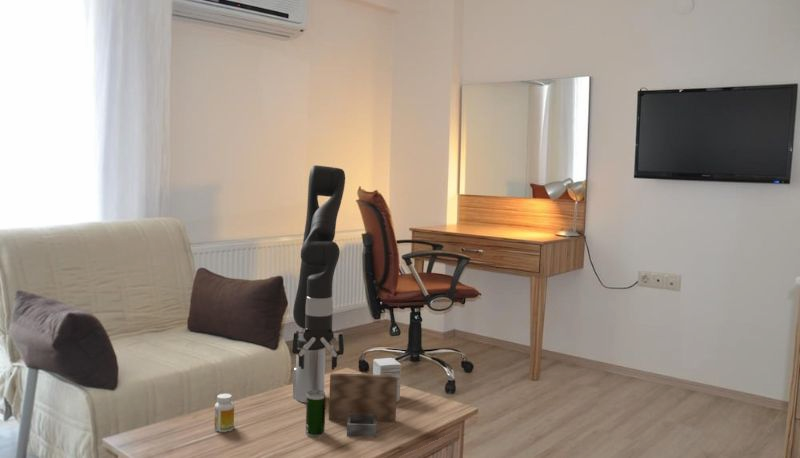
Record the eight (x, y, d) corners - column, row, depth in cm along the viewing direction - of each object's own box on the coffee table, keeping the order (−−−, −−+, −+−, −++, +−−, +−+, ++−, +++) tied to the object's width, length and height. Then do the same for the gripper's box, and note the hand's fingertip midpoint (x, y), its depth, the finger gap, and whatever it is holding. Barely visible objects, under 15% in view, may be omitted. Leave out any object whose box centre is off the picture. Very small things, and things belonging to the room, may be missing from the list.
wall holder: (325, 435, 194) (327, 387, 193) (329, 418, 207) (330, 373, 205) (396, 437, 195) (398, 390, 193) (395, 420, 208) (397, 375, 206)
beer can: (310, 438, 192) (311, 397, 190) (302, 431, 196) (303, 391, 195) (327, 435, 195) (329, 394, 193) (319, 428, 199) (320, 388, 198)
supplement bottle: (237, 426, 198) (238, 394, 197) (226, 433, 193) (227, 400, 192) (221, 423, 200) (221, 391, 199) (210, 430, 195) (210, 397, 193)
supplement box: (371, 395, 228) (372, 358, 226) (392, 393, 230) (393, 357, 229) (378, 403, 221) (380, 365, 219) (400, 401, 224) (401, 363, 222)
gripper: (291, 314, 188) (290, 372, 189) (344, 315, 188) (342, 373, 190) (294, 308, 195) (294, 364, 197) (345, 309, 196) (343, 365, 197)
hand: (317, 368), depth 193 cm, fingers open, 8 cm apart
